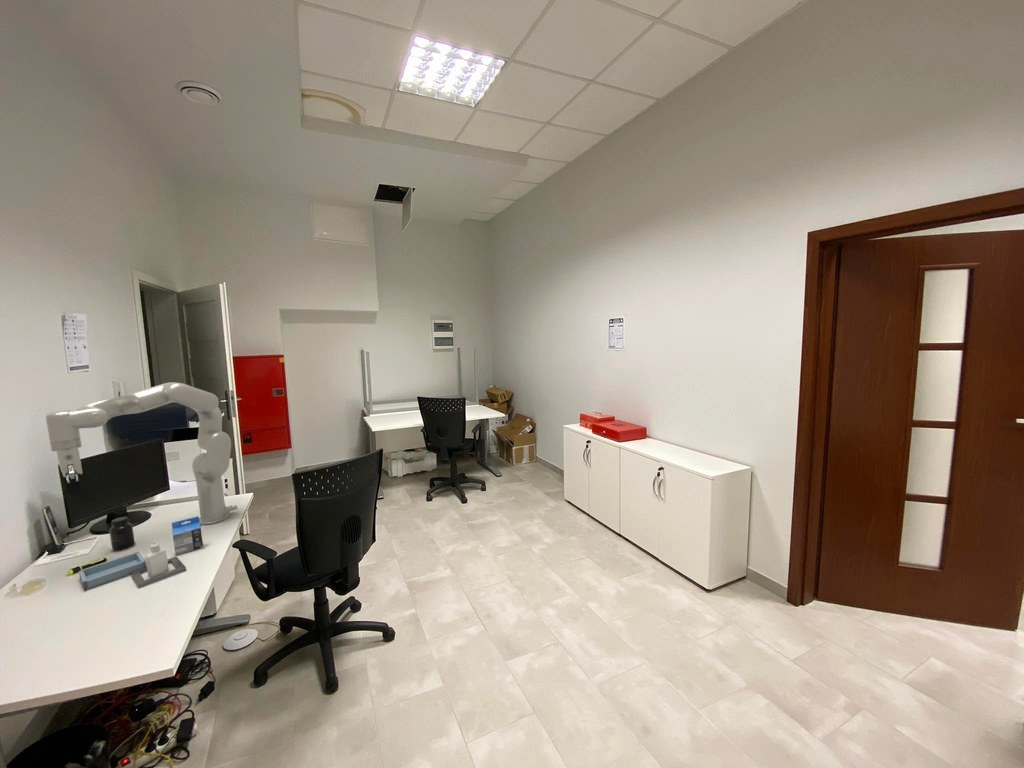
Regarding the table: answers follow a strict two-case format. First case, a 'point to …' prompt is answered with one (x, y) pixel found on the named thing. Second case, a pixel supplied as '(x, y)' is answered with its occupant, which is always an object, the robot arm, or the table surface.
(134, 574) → the gray square frame
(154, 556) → the eye dropper bottle
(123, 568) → the tray
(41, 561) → the photo frame
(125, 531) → the supplement bottle
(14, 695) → the table surface
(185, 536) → the label tape box
